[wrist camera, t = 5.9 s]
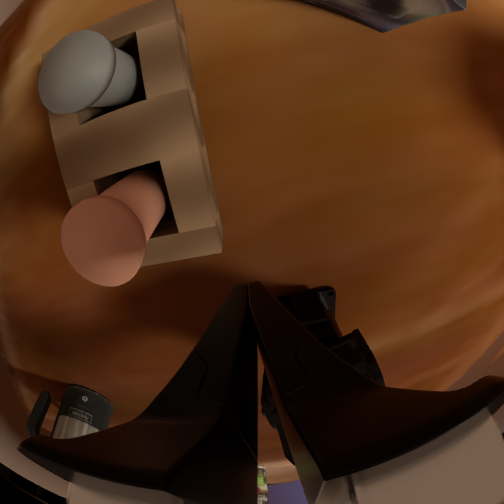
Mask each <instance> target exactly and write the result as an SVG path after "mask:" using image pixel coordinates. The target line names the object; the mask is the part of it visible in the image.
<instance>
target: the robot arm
mask: <svg viewBox="0 0 504 504" xmlns="http://www.w3.org/2000/svg"><path fill="white" fill-rule="evenodd" d="M330 292H331V293H330ZM335 301H336V292H335V290H334V288H332V287H329V288H324V289H319V290H314V291H309V292H304V293H299V294H294V295H288V296H283V297H277V298H275V297H274V296H273V295H272V294H271V293H270V292H269V291H268V290H267V289H266V288H265V287H264V286H263V284H262V283H261V282H259V281H256V282H250V283H248V284H239V285H235V286H234V287H233V289H232V290H231V292H230V293H229V295H228V296H227V298H226V299H225V301H224V302H223V304H222V306H221V307H220V309H219V310H218V312H217V313H216V315H215V316H214V318H213V319H212V321H211V322H210V324H209V325H208V327H207V329H206V330H205V332H204V333H203V335H202V336H201V338H200V339H199V341H198V342H197V344H196V345H195V347H194V348H193V351H191V353H190V354H189V356H188V357H187V359H186V360H185V362H184V363H183V365H182V366H181V367H180V369H179V370H178V371H177V373H176V374H175V375H174V376H173V378H172V379H171V380H170V381H169V383H168V384H167V385H166V386H165V387H164V389H163V390H162V391H161V392H160V393H159V394H158V396H157V397H156V398H155V399H154V400H153V401H152V402H151V404H150V405H149V406H148V407H147V408H146V409H145V410H144V411H143V412H142V413H141V414H140V415H139V416H138V417H136V418H135V419H133V420H131V421H129V422H127V423H124V424H121V425H118V426H115V427H111V428H108V429H105V430H101V431H98V432H94V433H90V434H87V435H83V436H79V437H74V438H68V439H56V438H51V437H48V436H45V435H41V434H38V435H34V436H31V437H28V438H26V439H24V440H23V441H21V442H20V443H19V445H18V446H17V449H18V451H20V452H21V453H22V454H23V455H25V456H26V457H27V458H29V459H30V460H32V461H33V462H35V463H37V464H38V465H40V466H41V467H43V468H45V469H46V470H48V471H50V472H52V473H53V474H55V475H57V476H59V477H61V478H63V479H64V480H67V481H68V482H69V487H68V493H67V499H66V498H64V497H61V496H59V495H57V494H55V493H52V492H50V491H48V490H46V489H44V488H42V487H40V486H38V485H36V484H35V483H33V482H31V481H29V480H27V479H26V478H23V477H22V476H20V475H18V474H17V473H15V472H14V471H12V470H11V469H9V468H8V467H6V466H5V465H3V464H2V463H0V504H257V484H258V462H257V460H258V351H257V343H258V347H259V351H260V354H261V358H262V361H263V364H264V374H263V384H262V396H261V405H262V410H261V411H262V414H263V416H265V417H267V419H268V421H269V423H270V425H271V426H272V428H273V429H275V430H278V433H279V436H280V439H281V443H282V446H283V450H284V454H285V457H286V458H287V459H288V460H289V461H290V462H291V463H292V464H293V465H295V466H296V469H297V472H298V475H299V478H300V481H301V484H302V487H303V490H304V493H305V495H306V499H307V502H308V504H504V433H503V434H502V433H501V430H500V429H499V426H498V424H497V423H496V421H495V419H494V417H493V414H494V413H495V412H496V411H497V410H498V409H499V408H500V407H501V406H502V405H503V404H504V377H500V376H491V375H488V376H485V377H483V378H481V379H479V380H478V381H476V382H474V383H473V384H471V385H470V386H467V387H465V388H462V389H459V390H455V391H443V392H441V391H423V390H410V389H400V388H390V387H385V383H384V380H383V376H382V374H381V371H380V368H379V366H378V363H377V361H376V359H375V357H374V355H373V353H372V351H371V350H370V348H369V346H368V345H367V343H366V341H365V340H364V338H363V336H362V335H361V333H360V331H359V330H358V329H355V330H353V331H352V333H349V334H347V335H345V336H342V334H341V331H340V329H339V327H338V324H337V322H336V320H335Z"/></svg>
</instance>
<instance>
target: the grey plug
mask: <svg viewBox="0 0 504 504" xmlns="http://www.w3.org/2000/svg"><path fill="white" fill-rule="evenodd" d="M38 91H39V96H40V99H41V101H42V103H43V105H44V106H45V107H46V108H47V109H48V110H50V111H51V112H53V113H56V114H70V113H77V112H81V111H83V110H85V109H87V108H89V107H126V106H128V105H131V104H134V103H136V102H138V101H139V100H140V99H141V98H142V97H143V96H144V95H145V94H146V93H145V87H144V81H143V76H142V70H141V63H140V60H139V59H137V58H135V57H133V56H131V55H129V54H127V53H125V52H123V51H121V50H119V49H117V48H115V47H114V46H113V44H112V43H111V41H110V40H109V39H108V38H106V37H105V36H103V35H101V34H99V33H97V32H95V31H91V30H81V31H77V32H74V33H71V34H69V35H68V36H66V37H64V38H63V39H62V40H60V41H59V42H58V43H57V44H56V45H55V46H54V47H53V48H52V50H51V51H50V52H49V54H48V55H47V57H46V58H45V60H44V62H43V65H42V67H41V70H40V74H39V79H38Z"/></svg>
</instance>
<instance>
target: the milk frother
mask: <svg viewBox="0 0 504 504" xmlns="http://www.w3.org/2000/svg"><path fill="white" fill-rule="evenodd" d="M50 403H51V396H50V394H49V392H47V391H42V392H41V394H40V396H39V398H38V399H37V401H36V404H35V406H34V408H33V410H32V412H31V414H30V416H29V419H28V421H27V425H26V428H27V433H28V435H29V437H31V436H34V435H38V434H39V431H40V428H41V425H42V423H43V420H44V418H45V415H46V413H47V411H48V408H49V406H50ZM113 411H114V408H113V406H112V404H111V403H110V402H109V401H108V400H107V399H105V398H104V397H103V396H101V395H100V394H98V393H96V392H94V391H92V390H89V389H87V388H84V387H81V386H75V385H71V386H68V387H67V389H66V395H65V396H63V398H62V401H61V404H60V407H59V411H58V413H57V417H56V420H55V423H54V426H53V429H52V433H51V438H56V439H68V438H74V437H79V436H83V435H87V434H90V433H94V432H98V431H101V430H105V429H107V428H108V424H109V421H110V417H111V414H112V413H113Z"/></svg>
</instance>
